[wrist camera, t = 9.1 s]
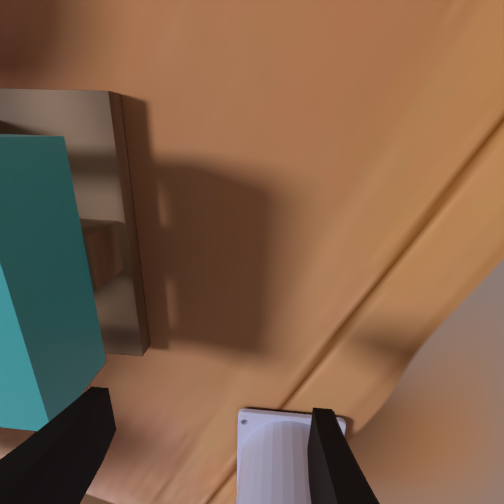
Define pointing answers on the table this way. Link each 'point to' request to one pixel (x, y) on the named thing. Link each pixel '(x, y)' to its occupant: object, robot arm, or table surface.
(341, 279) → the table surface
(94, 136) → the stand
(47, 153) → the teal c-shaped bracket
